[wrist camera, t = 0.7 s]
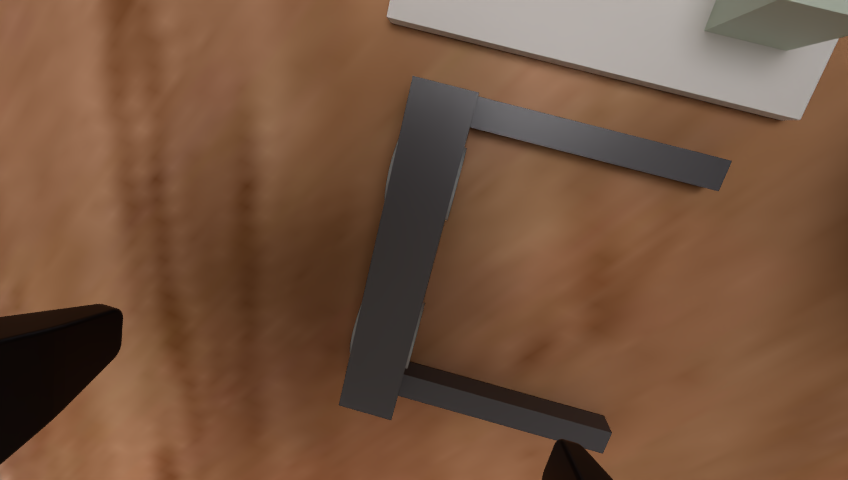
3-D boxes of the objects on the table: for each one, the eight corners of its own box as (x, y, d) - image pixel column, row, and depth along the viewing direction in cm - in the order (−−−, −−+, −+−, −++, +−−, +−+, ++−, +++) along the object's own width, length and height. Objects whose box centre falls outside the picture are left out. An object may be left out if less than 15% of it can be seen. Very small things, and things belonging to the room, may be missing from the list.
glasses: (714, 158, 18) (762, 164, 15) (595, 435, 21) (615, 483, 18) (419, 83, 18) (410, 75, 15) (354, 368, 22) (336, 404, 19)
